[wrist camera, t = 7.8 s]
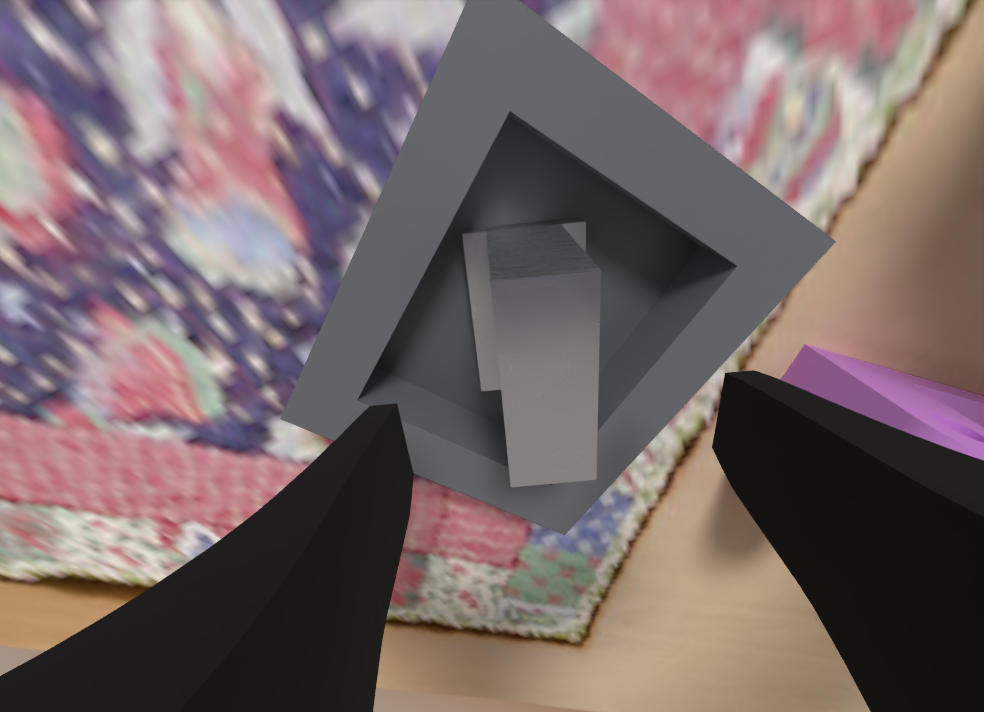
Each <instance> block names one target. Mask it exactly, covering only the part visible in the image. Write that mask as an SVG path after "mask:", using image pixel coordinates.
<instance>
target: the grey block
mask: <svg viewBox="0 0 984 712" xmlns="http://www.w3.org/2000/svg"><path fill="white" fill-rule="evenodd" d="M462 238H463V246H464V254H465V262H466V270H467V278H468V287H469V295H470V303H471V311H472V319H473V327H474V335H475V343H476V351H477V360H478V368H479V376H480V384H481V391H491V390H501V394H502V404H503V414H504V424H505V434H506V445H507V455H508V465H509V475H510V485H511V487H521V486H532V485H543V484H555V483H566V482H577V481H588V480H596V478H597V432H598V386H599V340H600V293H601V270H600V269H599V268H598V266H597V265H596V264H595V263H594V262H593V261H592V259H591V258H590V257H589V256H588V255H587V254H586V221H585V220H584V219H582V218H581V217H577V218H567V219H557V220H547V221H538V222H528V223H518V224H508V225H498V226H488V227H478V228H468V229H463V231H462Z"/></svg>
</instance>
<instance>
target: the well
mask: <svg viewBox="0 0 984 712" xmlns="http://www.w3.org/2000/svg"><path fill="white" fill-rule="evenodd" d="M577 217H581V218H582V219H584V220H585V221H586V254H587V255H588V256H589V257H590V258H591V259H592V261H593V262H594V263H595V264H596V265H597V266H598V268H599V269H600V270H601V293H600V340H599V386H598V432H597V478H596V480H588V481H577V482H566V483H555V484H543V485H532V486H521V487H511V485H510V475H509V465H508V455H507V445H506V434H505V424H504V414H503V404H502V394H501V390H491V391H481V384H480V376H479V368H478V360H477V351H476V343H475V335H474V327H473V319H472V311H471V303H470V295H469V287H468V278H467V270H466V262H465V254H464V246H463V238H462V231H463V229H468V228H478V227H488V226H498V225H508V224H518V223H528V222H538V221H547V220H557V219H567V218H577ZM835 242H836V241H835V240H833V239H832V238H831V237H830V236H828V235H827V234H826V233H824V232H823V231H822V230H820V229H819V228H818V227H816V226H815V225H814V224H812V223H811V222H810V221H808V220H807V219H806V218H805V217H803V216H802V215H801V214H799V213H798V212H797V211H795V210H794V209H793V208H791V207H790V206H789V205H787V204H786V203H785V202H783V201H782V200H781V199H780V198H778V197H777V196H776V195H774V194H773V193H772V192H770V191H769V190H768V189H766V188H765V187H764V186H762V185H761V184H760V183H758V182H757V181H756V180H755V179H753V178H752V177H751V176H749V175H748V174H747V173H745V172H744V171H743V170H741V169H740V168H739V167H737V166H736V165H735V164H733V163H732V162H731V161H730V160H728V159H727V158H726V157H724V156H723V155H722V154H720V153H719V152H718V151H716V150H715V149H714V148H712V147H711V146H710V145H708V144H707V143H706V142H705V141H703V140H702V139H701V138H699V137H698V136H697V135H695V134H694V133H693V132H691V131H690V130H689V129H687V128H686V127H685V126H683V125H682V124H681V123H680V122H678V121H677V120H676V119H674V118H673V117H672V116H670V115H669V114H668V113H666V112H665V111H664V110H662V109H661V108H660V107H658V106H657V105H656V104H654V103H653V102H652V101H651V100H649V99H648V98H647V97H645V96H644V95H643V94H641V93H640V92H639V91H637V90H636V89H635V88H633V87H632V86H631V85H629V84H628V83H627V82H626V81H624V80H623V79H622V78H620V77H619V76H618V75H616V74H615V73H614V72H612V71H611V70H610V69H608V68H607V67H606V66H604V65H603V64H602V63H601V62H599V61H598V60H597V59H595V58H594V57H593V56H591V55H590V54H589V53H587V52H586V51H585V50H583V49H582V48H581V47H579V46H578V45H577V44H576V43H574V42H573V41H572V40H570V39H569V38H568V37H566V36H565V35H564V34H562V33H561V32H560V31H558V30H557V29H556V28H554V27H553V26H552V25H551V24H549V23H548V22H547V21H545V20H544V19H543V18H541V17H540V16H539V15H537V14H536V13H535V12H533V11H532V10H531V9H529V8H528V7H527V6H526V5H524V4H523V3H522V2H520V1H519V0H467V2H466V5H465V7H464V9H463V11H462V13H461V16H460V18H459V20H458V22H457V25H456V27H455V29H454V31H453V34H452V36H451V38H450V40H449V43H448V45H447V47H446V49H445V52H444V54H443V56H442V58H441V61H440V63H439V65H438V67H437V70H436V72H435V74H434V76H433V78H432V81H431V83H430V85H429V87H428V90H427V92H426V94H425V96H424V99H423V101H422V103H421V105H420V108H419V110H418V112H417V114H416V117H415V119H414V121H413V123H412V126H411V128H410V130H409V132H408V134H407V137H406V139H405V141H404V143H403V146H402V148H401V150H400V152H399V155H398V157H397V159H396V161H395V164H394V166H393V168H392V170H391V173H390V175H389V177H388V179H387V182H386V184H385V186H384V188H383V190H382V193H381V195H380V197H379V199H378V202H377V204H376V206H375V208H374V211H373V213H372V215H371V217H370V220H369V222H368V224H367V226H366V229H365V231H364V233H363V235H362V238H361V240H360V242H359V244H358V246H357V249H356V251H355V253H354V255H353V258H352V260H351V262H350V264H349V267H348V269H347V271H346V273H345V276H344V278H343V280H342V282H341V285H340V287H339V289H338V291H337V294H336V296H335V298H334V300H333V302H332V305H331V307H330V309H329V311H328V314H327V316H326V318H325V320H324V323H323V325H322V327H321V329H320V332H319V334H318V336H317V338H316V341H315V343H314V345H313V347H312V350H311V352H310V354H309V356H308V358H307V361H306V363H305V365H304V367H303V370H302V372H301V374H300V376H299V379H298V381H297V383H296V385H295V388H294V390H293V392H292V394H291V397H290V399H289V401H288V403H287V406H286V408H285V410H284V412H283V414H282V417H281V419H282V420H284V421H287V422H289V423H291V424H294V425H296V426H299V427H301V428H304V429H306V430H309V431H311V432H313V433H316V434H318V435H321V436H323V437H326V438H328V439H331V440H333V441H335V440H336V439H337V438H338V437H339V436H340V435H341V434H342V433H343V432H344V431H345V430H346V429H347V428H348V427H349V426H350V425H351V424H352V423H353V422H354V421H355V420H356V419H357V418H358V417H359V416H360V415H361V414H362V413H363V412H364V411H365V410H366V409H367V408H368V407H369V406H374V405H384V404H395V403H397V405H398V409H399V413H400V418H401V422H402V426H403V430H404V435H405V439H406V443H407V448H408V452H409V456H410V460H411V465H412V469H413V473H414V474H416V475H419V476H421V477H423V478H426V479H428V480H431V481H433V482H436V483H438V484H441V485H443V486H446V487H448V488H450V489H453V490H455V491H458V492H460V493H463V494H465V495H468V496H470V497H472V498H475V499H477V500H480V501H482V502H485V503H487V504H490V505H492V506H494V507H497V508H499V509H502V510H504V511H507V512H509V513H512V514H514V515H516V516H519V517H521V518H524V519H526V520H529V521H531V522H534V523H536V524H538V525H541V526H543V527H546V528H548V529H551V530H553V531H556V532H558V533H560V534H563V535H565V534H566V533H567V532H568V531H569V529H570V528H571V527H572V526H573V525H574V524H575V523H576V522H577V521H578V520H579V519H580V518H581V517H582V515H583V514H584V513H585V512H586V511H587V510H588V509H589V508H590V507H591V506H592V505H593V504H594V502H595V501H596V500H597V499H598V498H599V497H600V496H601V495H602V494H603V493H604V492H605V491H606V490H607V488H608V487H609V486H610V485H611V484H612V483H613V482H614V481H615V480H616V479H617V478H618V477H619V475H620V474H621V473H622V472H623V471H624V470H625V469H626V468H627V467H628V466H629V465H630V464H631V462H632V461H633V460H634V459H635V458H636V457H637V456H638V455H639V454H640V453H641V452H642V451H643V450H644V448H645V447H646V446H647V445H648V444H649V443H650V442H651V441H652V440H653V439H654V438H655V437H656V435H657V434H658V433H659V432H660V431H661V430H662V429H663V428H664V427H665V426H666V425H667V424H668V423H669V421H670V420H671V419H672V418H673V417H674V416H675V415H676V414H677V413H678V412H679V411H680V410H681V408H682V407H683V406H684V405H685V404H686V403H687V402H688V401H689V400H690V399H691V398H692V397H693V396H694V394H695V393H696V392H697V391H698V390H699V389H700V388H701V387H702V386H703V385H704V384H705V383H706V381H707V380H708V379H709V378H710V377H711V376H712V375H713V374H714V373H715V372H716V371H717V370H718V368H719V367H720V366H721V365H722V364H723V363H724V362H725V361H726V360H727V359H728V358H729V357H730V356H731V354H732V353H733V352H734V351H735V350H736V349H737V348H738V347H739V346H740V345H741V344H742V343H743V341H744V340H745V339H746V338H747V337H748V336H749V335H750V334H751V333H752V332H753V331H754V330H755V329H756V327H757V326H758V325H759V324H760V323H761V322H762V321H763V320H764V319H765V318H766V317H767V316H768V314H769V313H770V312H771V311H772V310H773V309H774V308H775V307H776V306H777V305H778V304H779V303H780V302H781V300H782V299H783V298H784V297H785V296H786V295H787V294H788V293H789V292H790V291H791V290H792V289H793V287H794V286H795V285H796V284H797V283H798V282H799V281H800V280H801V279H802V278H803V277H804V276H805V274H806V273H807V272H808V271H809V270H810V269H811V268H812V267H813V266H814V265H815V264H816V263H817V262H818V260H819V259H820V258H821V257H822V256H823V255H824V254H825V253H826V252H827V251H828V250H829V249H830V247H831V246H832V245H833V244H834V243H835Z"/></svg>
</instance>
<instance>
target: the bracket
mask: <svg viewBox="0 0 984 712" xmlns="http://www.w3.org/2000/svg"><path fill="white" fill-rule="evenodd" d="M781 380H782V381H784V382H787V383H789V384H792V385H794V386H796V387H799V388H801V389H803V390H806V391H808V392H810V393H813V394H815V395H817V396H820V397H822V398H824V399H827V400H829V401H831V402H834V403H836V404H838V405H841V406H843V407H846V408H848V409H850V410H853V411H855V412H857V413H860V414H862V415H865V416H867V417H869V418H872V419H874V420H877V421H879V422H882V423H884V424H887V425H889V426H892V427H894V428H896V429H899V430H902V431H904V432H907V433H910V434H912V435H915V436H917V437H920V438H923V439H925V440H928V441H931V442H933V443H936V444H938V445H941V446H944V447H946V448H949V449H952V450H955V451H958V452H961V453H963V454H966V455H969V456H972V457H975V458H978V459H981V460H984V396H982V395H978V394H975V393H972V392H968V391H965V390H961V389H958V388H954V387H951V386H947V385H944V384H941V383H937V382H934V381H930V380H927V379H923V378H920V377H916V376H913V375H910V374H906V373H903V372H899V371H896V370H892V369H889V368H885V367H882V366H879V365H875V364H872V363H868V362H865V361H861V360H858V359H854V358H851V357H848V356H844V355H841V354H837V353H834V352H830V351H827V350H823V349H820V348H817V347H813V346H810V345H806V344H805V345H804V347H803V348H802V349H801V351H800V352H799V354H798V355H797V357H796V358H795V360H794V361H793V363H792V364H791V365H790V367H789V368H788V370H787V371H786V373H785V374H784V376H783V377H782V379H781Z"/></svg>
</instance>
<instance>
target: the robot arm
mask: <svg viewBox="0 0 984 712" xmlns="http://www.w3.org/2000/svg"><path fill="white" fill-rule="evenodd" d="M712 448H713V450H714V452H715V454H716V457H717V459H718V461H719V463H720V465H721V467H722V469H723V471H724V473H725V475H726V477H727V479H728V480H729V482H730V484H731V486H732V488H733V489H734V491H735V492H736V494H737V495H738V497H739V498H740V500H741V501H742V503H743V504H744V506H745V507H746V509H747V510H748V512H749V513H750V515H751V516H752V518H753V519H754V520H755V522H756V523H757V525H758V526H759V528H760V529H761V531H762V532H763V533H764V535H765V536H766V538H767V539H768V541H769V542H770V543H771V545H772V546H773V548H774V549H775V551H776V552H777V554H778V555H779V556H780V558H781V559H782V561H783V562H784V564H785V565H786V566H787V568H788V569H789V571H790V572H791V574H792V575H793V577H794V578H795V579H796V581H797V582H798V584H799V585H800V587H801V588H802V590H803V592H804V593H805V595H806V596H807V598H808V599H809V601H810V603H811V604H812V606H813V607H814V609H815V611H816V612H817V614H818V616H819V618H820V620H821V621H822V623H823V625H824V627H825V628H826V630H827V632H828V634H829V636H830V637H831V639H832V641H833V643H834V644H835V646H836V648H837V650H838V651H839V653H840V655H841V657H842V659H843V660H844V662H845V664H846V666H847V668H848V670H849V672H850V673H851V675H852V677H853V679H854V681H855V683H856V685H857V687H858V689H859V690H860V692H861V694H862V696H863V698H864V700H865V702H866V704H867V705H868V707H869V709H870V711H871V712H984V460H981V459H978V458H975V457H972V456H969V455H966V454H963V453H961V452H958V451H955V450H952V449H949V448H946V447H944V446H941V445H938V444H936V443H933V442H931V441H928V440H925V439H923V438H920V437H917V436H915V435H912V434H910V433H907V432H904V431H902V430H899V429H896V428H894V427H892V426H889V425H887V424H884V423H882V422H879V421H877V420H874V419H872V418H869V417H867V416H865V415H862V414H860V413H857V412H855V411H853V410H850V409H848V408H846V407H843V406H841V405H838V404H836V403H834V402H831V401H829V400H827V399H824V398H822V397H820V396H817V395H815V394H813V393H810V392H808V391H806V390H803V389H801V388H799V387H796V386H794V385H792V384H789V383H787V382H784V381H782V380H779V379H777V378H774V377H772V376H769V375H766V374H763V373H760V372H757V371H754V370H753V371H742V372H731V373H725V377H724V383H723V388H722V394H721V400H720V405H719V411H718V417H717V423H716V428H715V434H714V440H713V445H712ZM413 475H414V473H413V469H412V465H411V460H410V456H409V452H408V448H407V443H406V439H405V435H404V430H403V426H402V422H401V418H400V413H399V409H398V405H397V403H395V404H384V405H374V406H369V407H368V408H367V409H366V410H365V411H364V412H363V413H362V414H361V415H360V416H359V417H358V418H357V419H356V420H355V421H354V422H353V423H352V424H351V425H350V426H349V427H348V428H347V429H346V430H345V431H344V432H343V433H342V434H341V435H340V436H339V437H338V438H337V439H336V440H335V441H334V442H333V443H332V444H331V445H330V446H329V447H328V448H327V449H326V450H325V451H324V452H323V453H322V454H321V455H320V456H319V457H318V458H317V459H316V460H315V461H314V462H312V463H311V464H310V465H309V466H308V467H307V468H306V469H305V470H304V471H303V472H302V473H300V474H299V475H298V476H297V477H296V478H295V479H294V480H293V481H291V482H290V483H289V484H288V485H287V486H286V487H285V488H284V489H283V490H281V491H280V492H279V493H278V494H277V495H276V496H275V497H274V498H273V499H271V500H270V501H269V502H268V503H267V504H265V505H264V506H263V507H262V508H261V509H259V510H258V511H257V512H256V513H254V514H253V515H252V516H251V517H250V518H248V519H247V520H246V521H244V522H243V523H242V524H240V525H239V526H238V527H237V528H235V529H234V530H233V531H231V532H230V533H229V534H227V535H226V536H225V537H223V538H222V539H221V540H220V541H218V542H217V543H215V544H214V545H213V546H211V547H210V548H209V549H207V550H206V551H204V552H203V553H201V554H200V555H198V556H197V557H195V558H194V559H192V560H191V561H189V562H188V563H187V564H185V565H184V566H182V567H181V568H179V569H178V570H176V571H175V572H173V573H172V574H170V575H169V576H167V577H166V578H165V579H163V580H162V581H160V582H159V583H157V584H156V585H154V586H153V587H151V588H150V589H148V590H147V591H145V592H144V593H142V594H140V595H139V596H137V597H136V598H134V599H132V600H131V601H129V602H128V603H126V604H124V605H123V606H121V607H120V608H118V609H116V610H115V611H113V612H111V613H110V614H108V615H107V616H105V617H103V618H102V619H100V620H98V621H97V622H95V623H93V624H92V625H90V626H88V627H86V628H85V629H83V630H81V631H80V632H78V633H76V634H75V635H73V636H71V637H69V638H68V639H66V640H64V641H63V642H61V643H59V644H57V645H56V646H54V647H52V648H50V649H49V650H47V651H45V652H43V653H42V654H40V655H38V656H36V657H35V658H33V659H31V660H29V661H27V662H25V663H24V664H22V665H20V666H18V667H16V668H14V669H12V670H11V671H9V672H7V673H5V674H3V675H1V676H0V712H373V706H374V698H375V690H376V683H377V675H378V668H379V660H380V653H381V645H382V639H383V634H384V628H385V623H386V618H387V613H388V609H389V604H390V600H391V596H392V591H393V587H394V582H395V578H396V574H397V569H398V565H399V561H400V556H401V552H402V548H403V543H404V539H405V534H406V530H407V525H408V520H409V516H410V507H411V498H412V486H413Z"/></svg>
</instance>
